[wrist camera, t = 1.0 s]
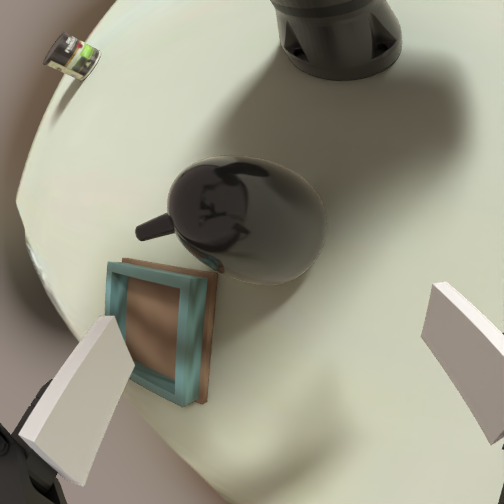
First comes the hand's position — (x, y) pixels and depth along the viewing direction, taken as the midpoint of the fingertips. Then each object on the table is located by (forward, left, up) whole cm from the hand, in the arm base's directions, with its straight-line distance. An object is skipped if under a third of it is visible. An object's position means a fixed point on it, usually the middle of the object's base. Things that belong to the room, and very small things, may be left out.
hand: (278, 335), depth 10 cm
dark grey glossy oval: (-6, -7, -17) cm, 19 cm away
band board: (+7, -22, -16) cm, 28 cm away
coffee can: (-51, -67, -17) cm, 85 cm away
